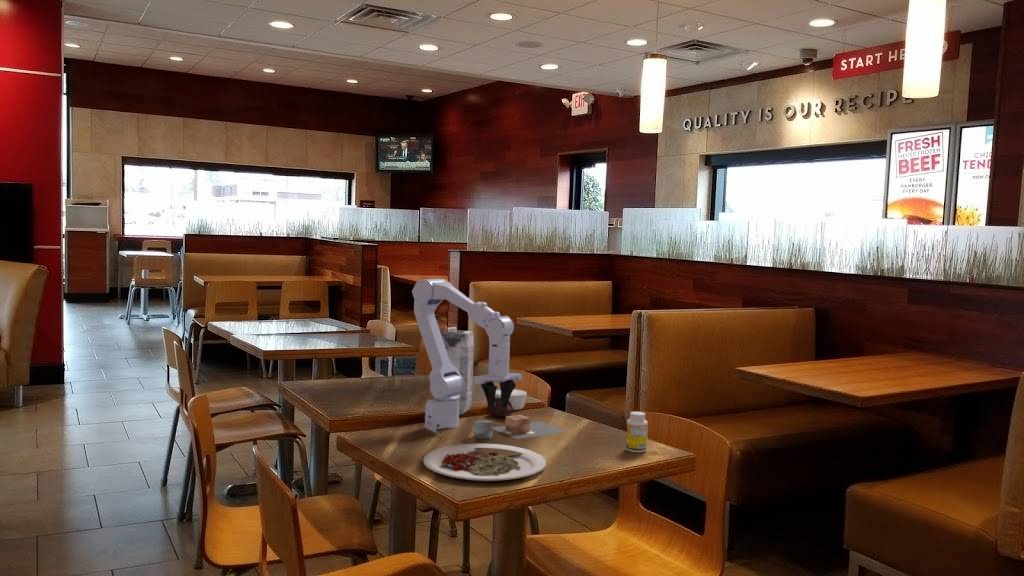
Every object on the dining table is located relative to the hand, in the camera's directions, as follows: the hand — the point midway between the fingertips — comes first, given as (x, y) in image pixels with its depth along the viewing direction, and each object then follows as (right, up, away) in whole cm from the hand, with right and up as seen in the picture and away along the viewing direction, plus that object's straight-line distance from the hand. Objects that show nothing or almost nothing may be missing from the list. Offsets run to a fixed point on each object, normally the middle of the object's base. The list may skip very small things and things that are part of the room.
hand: (497, 407), depth 220 cm
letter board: (+9, -8, +6) cm, 14 cm away
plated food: (-3, -11, -27) cm, 29 cm away
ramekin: (+3, -6, +40) cm, 40 cm away
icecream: (+1, -7, +23) cm, 24 cm away
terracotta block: (+6, -7, +4) cm, 10 cm away
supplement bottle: (+38, -10, -8) cm, 40 cm away
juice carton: (-14, -6, +31) cm, 34 cm away
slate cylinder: (-4, -9, -3) cm, 10 cm away
